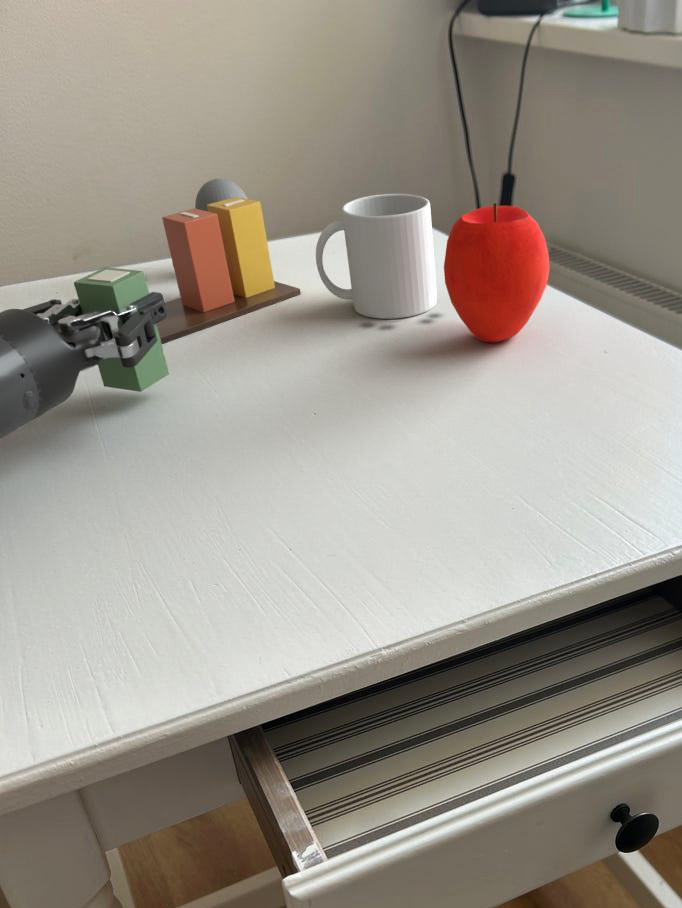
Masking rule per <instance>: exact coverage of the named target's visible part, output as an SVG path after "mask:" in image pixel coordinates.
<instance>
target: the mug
mask: <svg viewBox="0 0 682 908" xmlns="http://www.w3.org/2000/svg"><path fill="white" fill-rule="evenodd" d="M431 212H432V211H431V203H430V200H429V199H427V198H426V197H423V196H420V195H417V194H409V193H383V194H375V195H374V194H373V195H368V196H363V197H359V198H356V199H353V200H351V201H349V202H346V203H345V204H343V206H342V207H341V216H342V219H338V220H334V221H332V222H331V223H329V224H328V225H327V226H325V228H324V229H323V230H322V232H321V233H320V235H319V238H318V239H317V243H316V246H315V247H316V248H315V263H316V264H315V265H316V268H317V272H318V275H319V278H320V280H321V281H322V283H323V285H324V286H325V288H326V290H328V291H329V292H330V293H331V294H333V295H334V296H335V297H337V298H339V299H342V300H352V304H353V309H354V310H355V311H356V313H358V314H359V315H361V316H364V317H368V318H373V319H383V320H385V319H386V320H388V319H389V320H390V319H391V320H392V319H404V318H410V317H415V316H418V315H421V314H424V313H426V312H428V311H430V310H432V309H433V308H434V307H435V306H436V305H437V302H438V294H437V293H438V292H437V282H436V281H437V279H436V266H435V251H434V241H433V240H434V238H433V226H432V225H433V224H432V213H431ZM341 231H344V239H345V240H344V241H345V248H346V255H347V263H348V272H349V278H350V286H351V288H342V287H339V286H338V285H335V284H334V283H333V282H332V281H331V279H330V278H329V276H328V275H327V274H326V271H325V268H324V262H323V257H324V255H323V254H324V250H325V246H326V244H327V243H328V240H329V239H330V238H331V237H332V236H333V235H334V234H336V233H338V232H341Z"/></svg>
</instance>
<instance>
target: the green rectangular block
mask: <svg viewBox="0 0 682 908" xmlns="http://www.w3.org/2000/svg"><path fill="white" fill-rule="evenodd" d="M73 286H74V289H75V292H76V296H77V299H79V303H80V306H81V309H82V313H83V314H86V313H89V312H92V311H95V310H97V309H100V308H104V309H107V310H110V311H113V310H116V309H119V308H122V307H124V306H126V305H129V304H131V303H133V302H135V301H136V300H138V299H140V298H142V297H144V296H146V295H148V294H149V293H150V291H149V288H148V284H147V280H146V275H145V271H143V270H137V269H127V268H116V267H103V268H101V269H98V270H97V271H95V272H92V273H91V274H90V273H89V274H88V275H85V276H84V277H81V278H79V279H77V280H75V281H73ZM97 323H98V324H99V325H100V326H101V327H102V324H101V321H100V322H97ZM125 323H126V322H125V318H124V319H122V320H120V321H119V322H118V326H119V329H120V328H121V327H122V326H123V325H124V324H125ZM154 329H155V333H156V337H157V342H156V343H155V344H154V345H153V347H152V348H151V349H150V350H149V351H148V353H147V354H146V355H145V356H144V357H143V358H142V360H141V361H140V362H139V363H138V364H137V365H136V366H133V367H130V368H129V367H123V366H122V364H121V360H120V357H118V358H106V359H104V360H103V361H102V362H101V363H100V364H98V365H97V367H98V370H99V374H100V377H101V380H102V384H103V387H106V388H110V389H111V388H112V389H118V390H125V391H133V392H140V393H142V392H144V391H145V390H147V389H148V388H149V387H152V386H153V385H155V384H156V383H158V382H159V381H160V380H162V379H165V377H167V376H168V375H170V372H169V368H168V364H167V361H166V355H165V352H164V347H163V344H161V339H160V335H159V331H158V327H157V323H156V324H155V325H154ZM102 330H103V328H102ZM103 333H104V331H103ZM104 337H105V335H104ZM105 340H106V338H105Z"/></svg>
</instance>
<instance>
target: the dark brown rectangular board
mask: <svg viewBox="0 0 682 908" xmlns="http://www.w3.org/2000/svg"><path fill="white" fill-rule="evenodd" d="M274 285H275V288H273V289H271V290H268V291H265V292H262V293H259V294H256V295H253V296H250V297H248V298H245V297H241V296H238V295H235V294H233V297H234V302H233V303H230V304H227V305H224V306H221V307H218V308H216V309H213V310H210V311H207V312H201V311H198V310H195V309H192V308H189V307H186V306H183V305H182V301H181V297H177V298H174V299H172V300H171V299H170V300H168V301H164V302H165V306H166V311H167V316H166V318H165V319H163V320H162V321H160V322H158V323H157V327H158V331H159V335H160V339H161V344H162V345H163V344H166V343H168V342H170V341H173V340H176V339H179V338H182V337H184V336H187V335H190V334H193V333H196V332H198V331H202V330H204V329H208V328H210V327H212V326H215V325H219V324H221V323H224V322H226V321H229V320H231V319H235V318H239V317H241V316H243V315H246V314H249V313H251V312H255V311H257V310H260V309H263V308H265V307H266V308H267V307H268V306H270V305H274V304H276V303H280V302H282V301H285V300H288V299H290V298H294V297H296V296H299V295H301V294H302V292H301V288H299V287H296V286H293V285H289V284H286V283H282V282H279V281H275V280H274Z"/></svg>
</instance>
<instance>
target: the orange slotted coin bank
mask: <svg viewBox="0 0 682 908" xmlns="http://www.w3.org/2000/svg"><path fill="white" fill-rule="evenodd" d="M161 218H162V219H161V220H162V223H163V227H164V231H165V237H166V241H167V245H168V249H169V253H170V257H171V262H172V267H173V271H174V273H175V280H176V284H177V288H178V292H179V296H180V297H181V301H182V305H183V306H186V307H189V308H192V309H195V310H198V311H201V312H207V311H210V310H213V309H216V308H218V307H221V306H224V305H227V304H230V303H233V302H234V297H233V292H232V287H231V282H230V277H229V272H228V267H227V262H226V257H225V252H224V247H223V242H222V237H221V232H220V227H219V222H218V216H217V214H215V213H211V212H207V211H203V210H199V209H196V208H195V207H194V208H191V209H187V210H182V211H179V212H175V213H171V214H168V215H165V216H162V217H161ZM180 297H179V298H180Z"/></svg>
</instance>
